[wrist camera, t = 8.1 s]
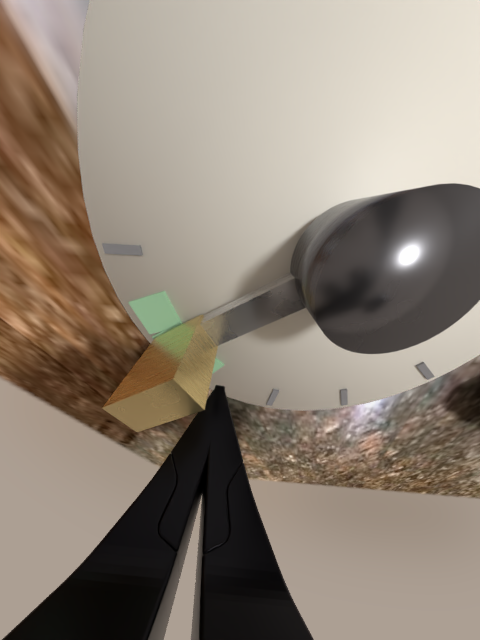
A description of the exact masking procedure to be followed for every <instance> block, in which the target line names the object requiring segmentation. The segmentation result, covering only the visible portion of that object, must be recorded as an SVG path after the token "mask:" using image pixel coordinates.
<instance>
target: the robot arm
mask: <svg viewBox="0 0 480 640" xmlns="http://www.w3.org/2000/svg"><path fill="white" fill-rule="evenodd" d="M201 496H202V504H201V517H200V530H199V543H198V557H197V569H196V583H195V595H194V608H193V622H192V634H191V640H313V638H312V636H311V634H310V632H309V630H308V628H307V626H306V624H305V622H304V621H303V618H302V617H301V615H300V613H299V611H298V609H297V607H296V605H295V603H294V601H293V599H292V597H291V595H290V593H289V590H288V588H287V586H286V583H285V581H284V579H283V576H282V574H281V571H280V569H279V567H278V564H277V561H276V558H275V555H274V553H273V550H272V547H271V545H270V542H269V539H268V536H267V534H266V531H265V528H264V526H263V523H262V520H261V518H260V514H259V512H258V509H257V506H256V503H255V500H254V497H253V494H252V491H251V488H250V484H249V480H248V477H247V473H246V470H245V466H244V463H243V458H242V455H241V451H240V447H239V443H238V439H237V435H236V431H235V428H234V424H233V420H232V416H231V412H230V408H229V404H228V401H227V397H226V393H225V386H221V385H215V388H214V390H213V392H212V393H211V394H210V396H209V397H208V399H207V401H206V405H205V410H203V411H200V412H198V413H197V415H196V416H195V418H194V419H193V421H192V422H191V424H190V425H189V427H188V428H187V430H186V431H185V432H184V434H183V435H182V437H181V438H180V440H179V441H178V443H177V444H176V446H175V447H174V449H173V450H172V451H171V454H169V456H168V457H167V459H166V460H165V462H164V463H163V464H162V466H161V467H160V469H159V470H158V471H157V473H156V474H155V475H154V477H153V478H152V480H151V481H150V482H149V484H148V485H147V486H146V487H145V489H144V490H143V491H142V492H141V494H140V495H139V496H138V497H137V499H136V500H135V501H134V502H133V503H132V505H131V506H130V507H129V508H128V509H127V511H126V512H125V513H124V514H123V516H122V517H121V518H120V519H119V520H118V522H117V523H116V524H115V525H114V527H113V528H112V529H111V530H110V531H109V532H108V534H107V535H106V536H105V537H104V538H103V540H102V541H101V542H100V543H99V545H98V546H97V547H96V548H95V549H94V550H93V552H92V553H91V554H90V555H89V556H88V557H87V558H86V559H85V560H84V562H83V563H82V564H81V565H80V566H79V567H78V568H77V569H76V570H75V571H74V572H73V573H72V574H71V575H70V576H69V577H68V578H67V579H66V580H65V581H64V582H63V583H62V584H61V585H60V586H59V587H58V588H57V589H56V590H55V591H54V592H52V593H51V594H50V595H49V596H48V597H47V598H46V599H45V600H44V601H43V602H42V603H41V604H40V605H39V606H38V607H36V608H35V609H34V610H33V611H32V612H31V613H30V614H29V615H28V616H27V617H26V618H25V619H24V620H22V622H21V623H20V624H18V625H17V626H16V627H15V628H14V629H13V630H12V631H11V632H10V633H9V634H8V635H7V636H5V637H4V638H3V639H2V640H163V639H164V636H165V632H166V628H167V624H168V621H169V617H170V613H171V609H172V605H173V602H174V598H175V594H176V590H177V586H178V583H179V578H180V575H181V572H182V567H183V564H184V560H185V556H186V553H187V549H188V545H189V541H190V538H191V534H192V530H193V526H194V522H195V519H196V515H197V511H198V507H199V504H200V500H201Z"/></svg>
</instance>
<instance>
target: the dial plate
mask: <svg viewBox="0 0 480 640" xmlns="http://www.w3.org/2000/svg"><path fill="white" fill-rule="evenodd" d="M77 118H78V155H79V163H80V171H81V180H82V188H83V196H84V201H85V205H86V209H87V214H88V218H89V222H90V226H91V231H92V235H93V238H94V241H95V244H96V247H97V250H98V253H99V255H100V258H101V261H102V264H103V267H104V270H105V272H106V274H107V276H108V278H109V280H110V282H111V284H112V286H113V288H114V291H115V293H116V295H117V297H118V299H119V300H120V302H121V303H122V305H123V307H124V308H125V310H126V311H127V313H128V315H129V316H130V318H131V320H132V321H133V322H134V324H135V325H136V326H137V327H138V329H139V330H140V331H141V333H142V334H143V335H144V336H145V338H146V339H147V340H148V341H149V342H150V343H152V341H153V340H154V339H155V337H157V336H159V335H161V334H163V333H165V332H167V331H169V330H171V329H173V328H175V327H177V326H179V325H181V324H183V323H185V322H187V321H189V320H191V319H193V318H195V317H197V316H199V315H201V314H203V316H204V315H206V314H208V313H210V312H212V311H214V310H216V309H218V308H220V307H222V306H224V305H226V304H228V303H230V302H232V301H234V300H236V299H238V298H240V297H242V296H244V295H246V294H248V293H250V292H252V291H254V290H256V289H258V288H260V287H262V286H264V285H266V284H268V283H270V282H273V281H275V280H277V279H279V278H281V277H283V276H285V275H287V274H289V273H290V265H291V259H292V255H293V252H294V249H295V247H296V244H297V242H298V240H299V239H300V237H301V236H302V234H303V232H304V231H305V230H306V229H307V227H308V226H309V225H310V224H311V223H312V222H313V221H314V220H315V219H316V218H317V217H318V216H320V215H321V214H322V213H324V212H325V211H327V210H328V209H330V208H332V207H334V206H336V205H338V204H340V203H343V202H346V201H350V200H355V199H360V198H366V197H371V196H376V195H382V194H387V193H393V192H398V191H404V190H409V189H415V188H420V187H426V186H431V185H436V184H449V183H457V184H466V185H471V186H474V187H477V188H480V0H90V1H89V6H88V11H87V15H86V20H85V25H84V30H83V40H82V50H81V61H80V71H79V81H78V92H77ZM478 355H480V300H479V302H478V303H477V304H476V305H475V306H474V307H473V308H472V309H471V310H470V311H469V312H468V313H467V314H465V315H464V316H463V317H462V318H461V319H460V320H458V321H457V322H456V323H454V324H453V325H452V326H450V327H449V328H447V329H446V330H444V331H443V332H441V333H440V334H438V335H436V336H434V337H432V338H431V339H429V340H427V341H424V342H422V343H420V344H418V345H415V346H412V347H409V348H407V349H403V350H399V351H395V352H390V353H383V354H361V353H355V352H351V351H348V350H345V349H343V348H341V347H339V346H337V345H335V344H334V343H333V342H331V341H330V340H329V339H328V338H327V337H326V336H325V335H324V333H323V332H322V330H321V329H320V327H319V326H318V325H317V323H316V322H315V320H314V319H313V317H312V316H311V314H310V313H309V312H308V310H307V309H306V308H304V309H302V310H300V311H297V312H295V313H293V314H290V315H288V316H286V317H283V318H281V319H279V320H276V321H274V322H272V323H269V324H267V325H265V326H263V327H260V328H258V329H256V330H253V331H251V332H249V333H246V334H244V335H242V336H239V337H237V338H235V339H232V340H230V341H228V342H226V343H223V344H221V345H219V346H218V349H217V354H216V358H215V363H214V368H213V372H212V377H211V382H210V386H209V389H211V390H214V388H215V385H221V386H225V393H226V396H227V397H230V398H232V399H235V400H239V401H242V402H245V403H248V404H253V405H258V406H262V407H267V408H275V409H283V410H303V411H307V410H327V409H335V408H344V407H349V406H354V405H359V404H365V403H368V402H372V401H376V400H380V399H383V398H387V397H390V396H393V395H396V394H399V393H402V392H404V391H407V390H410V389H412V388H415V387H417V386H420V385H422V384H424V383H427V382H429V381H431V380H434V379H436V378H438V377H440V376H442V375H444V374H446V373H448V372H450V371H452V370H454V369H456V368H458V367H459V366H461V365H463V364H464V363H466V362H468V361H469V360H471V359H473V358H475V357H476V356H478Z"/></svg>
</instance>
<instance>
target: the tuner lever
mask: <svg viewBox="0 0 480 640" xmlns="http://www.w3.org/2000/svg"><path fill="white" fill-rule="evenodd" d="M479 300H480V188H477V187H474V186H471V185H466V184H457V183H449V184H436V185H431V186H426V187H420V188H415V189H409V190H404V191H398V192H393V193H387V194H382V195H376V196H371V197H366V198H360V199H355V200H350V201H346V202H343V203H340V204H338V205H336V206H334V207H332V208H330V209H328V210H327V211H325V212H324V213H322V214H321V215H320V216H318V217H317V218H316V219H315V220H314V221H313V222H312V223H311V224H310V225H309V226H308V227H307V229H306V230H305V231H304V232H303V234H302V236H301V237H300V239H299V240H298V242H297V244H296V247H295V249H294V252H293V255H292V259H291V265H290V273H289V274H287V275H285V276H283V277H281V278H279V279H277V280H275V281H273V282H270V283H268V284H266V285H264V286H262V287H260V288H258V289H256V290H254V291H252V292H250V293H248V294H246V295H244V296H242V297H240V298H238V299H236V300H234V301H232V302H230V303H228V304H226V305H224V306H222V307H220V308H218V309H216V310H214V311H212V312H210V313H208V314H206V315H204V316H203V314H201V315H199V316H197V317H195V318H193V319H191V320H189V321H187V322H185V323H183V324H181V325H179V326H177V327H175V328H173V329H171V330H169V331H167V332H165V333H163V334H161V335H159V336H157V337H155V339H154V340H153V341H152V343H151V344H150V345H149V347H148V348H147V349H146V351H145V352H144V353H143V354H142V356H141V357H140V358H139V360H138V361H137V362H136V364H135V365H134V366H133V368H132V369H131V370H130V372H129V373H128V374H127V376H126V377H125V378H124V379H123V381H122V382H121V383H120V385H119V386H118V387H117V389H116V390H115V391H114V393H113V394H112V395H111V397H110V398H109V399H108V401H107V402H106V403H105V404H104V406H103V407H102V409H104V410H105V411H107V412H108V413H109V414H111V415H112V416H114V417H115V418H117V419H118V420H120V421H121V422H123V423H124V424H125V425H127V426H128V427H130V428H131V429H133V430H134V431H136V432H140V431H143V430H146V429H149V428H152V427H155V426H158V425H161V424H164V423H167V422H170V421H173V420H176V419H179V418H182V417H185V416H188V415H191V414H194V413H197V412H200V411H203V410H205V405H206V401H207V396H208V391H209V386H210V382H211V377H212V372H213V368H214V363H215V358H216V354H217V349H218V346H219V345H221V344H223V343H226V342H228V341H230V340H232V339H235V338H237V337H239V336H242V335H244V334H246V333H249V332H251V331H253V330H256V329H258V328H260V327H263V326H265V325H267V324H269V323H272V322H274V321H276V320H279V319H281V318H283V317H286V316H288V315H290V314H293V313H295V312H297V311H300V310H302V309H304V308H306V309H307V310H308V312H309V313H310V314H311V316H312V317H313V319H314V320H315V322H316V323H317V325H318V326H319V327H320V329H321V330H322V332H323V333H324V335H325V336H326V337H327V338H328V339H329V340H330V341H331V342H333V343H334V344H335V345H337V346H339V347H341V348H343V349H345V350H348V351H351V352H355V353H361V354H383V353H390V352H395V351H399V350H403V349H407V348H409V347H412V346H415V345H418V344H420V343H422V342H424V341H427V340H429V339H431V338H432V337H434V336H436V335H438V334H440V333H441V332H443V331H444V330H446V329H447V328H449V327H450V326H452V325H453V324H454V323H456V322H457V321H458V320H460V319H461V318H462V317H463V316H464V315H465V314H467V313H468V312H469V311H470V310H471V309H472V308H473V307H474V306H475V305H476V304H477V303H478V302H479Z"/></svg>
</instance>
